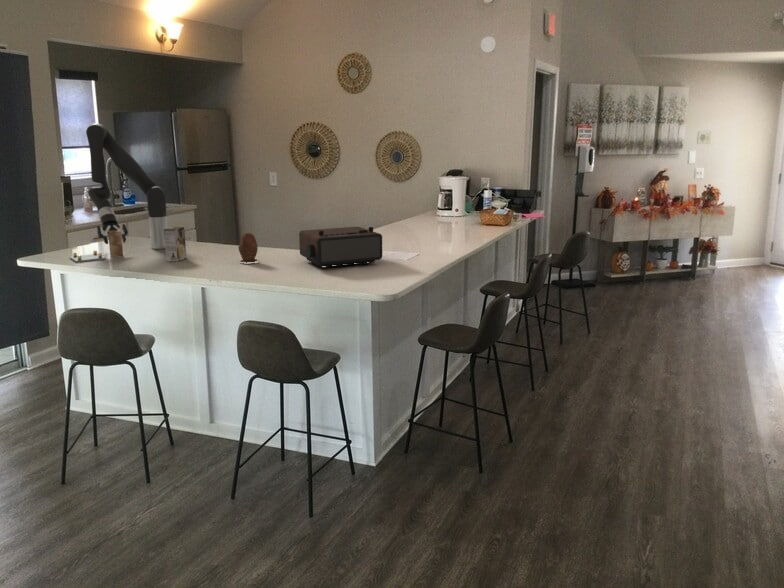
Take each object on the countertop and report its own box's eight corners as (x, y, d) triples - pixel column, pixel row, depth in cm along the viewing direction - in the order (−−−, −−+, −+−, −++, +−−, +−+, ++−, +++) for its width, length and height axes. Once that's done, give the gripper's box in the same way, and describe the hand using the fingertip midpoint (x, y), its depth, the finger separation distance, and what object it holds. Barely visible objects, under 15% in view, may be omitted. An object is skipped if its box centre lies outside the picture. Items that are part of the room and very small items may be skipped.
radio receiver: (313, 272, 311) (312, 233, 306) (295, 262, 334) (293, 225, 330) (382, 265, 326) (382, 228, 321) (360, 256, 349) (359, 221, 345)
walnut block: (120, 254, 353) (118, 229, 350) (123, 256, 349) (120, 231, 346) (110, 255, 350) (107, 230, 347) (113, 257, 346) (110, 232, 343)
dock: (99, 255, 351) (98, 249, 350) (106, 259, 340) (105, 253, 339) (69, 258, 343) (69, 252, 342) (76, 262, 332) (75, 256, 331)
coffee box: (175, 258, 344) (172, 226, 340) (187, 258, 343) (184, 226, 339) (166, 261, 335) (163, 229, 331) (177, 262, 334) (175, 229, 330)
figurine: (239, 262, 336) (239, 231, 334) (260, 262, 337) (259, 232, 335) (237, 264, 327) (236, 233, 325) (258, 264, 328) (257, 233, 326)
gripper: (94, 214, 346) (102, 239, 340) (122, 212, 355) (131, 236, 348) (92, 223, 352) (100, 248, 346) (120, 221, 360) (129, 245, 354)
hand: (116, 242), depth 347 cm, fingers open, 8 cm apart
